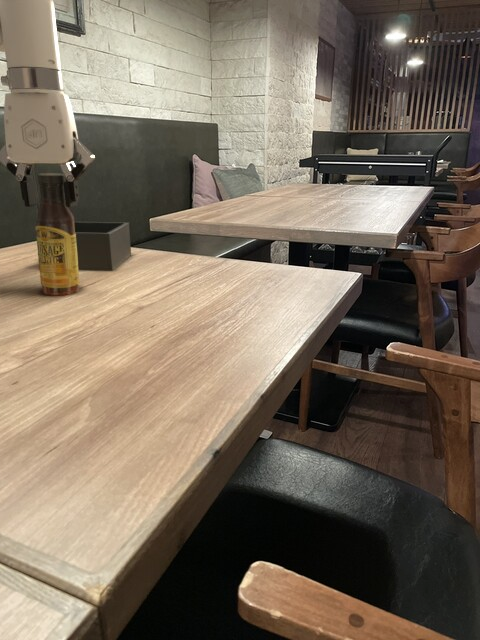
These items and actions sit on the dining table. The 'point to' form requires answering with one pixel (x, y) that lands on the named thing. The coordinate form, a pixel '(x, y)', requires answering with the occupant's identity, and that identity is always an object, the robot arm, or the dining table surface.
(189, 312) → the dining table surface
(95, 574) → the dining table surface
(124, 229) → the tub
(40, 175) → the sauce bottle
